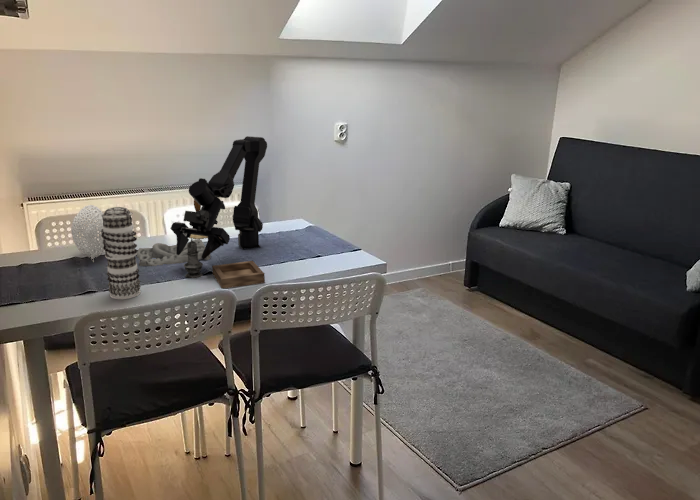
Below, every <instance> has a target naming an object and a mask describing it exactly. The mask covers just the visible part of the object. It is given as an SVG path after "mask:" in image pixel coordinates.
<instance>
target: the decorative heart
mask: <svg viewBox="0 0 700 500" xmlns="http://www.w3.org/2000/svg"><path fill="white" fill-rule="evenodd" d="M102 214H104V212H103V211H102V210H101V208H99V207H98V206H96V205H93V204H88V205H85V206H83V207H82V208H81V209H80V210H79V211H78V213H77V214H76V215H75V216H74V217H73V219H72V223H71V227H70V229H71V237H72V240H73V242H74V244H75V247H77V249H78V250H79V251H80V253H82V254H83V255H84V256H86V257H88V258H90V257H91V258H90V259H91V260H92V259H93V260H92V263H94V262H95V260H94V259H96V258H98V257H99V256H100V255H101V254H102V253H103V252H104V251H105V249H103V247H104V244H103V240H104V239H103V237H101V235H102V232H101V231H102V230H101V229H103V218H102V216H101V215H102ZM103 232H104V231H103ZM104 236H105V234H104ZM95 257H96V258H95Z"/></svg>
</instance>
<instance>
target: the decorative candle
mask: <svg viewBox="0 0 700 500" xmlns="http://www.w3.org/2000/svg"><path fill="white" fill-rule="evenodd" d="M132 215H133V212H132V211H130V210H129V209H128V208H127V207H125V206H112V207H110V208H106V209H105V211H104V212H103V214H102V215H101V216H102V218H103V229H101V230H102V231H101V232H102V235H101V238H102V237H103V239H104V240H103V244H104V247H103V249H104V257H105V258H106V259H107V260H106V261H107V271H106V272H107V273H106V276H107V279H106V280H107V281H108V284H107V287H108V292H109V297H110V298H112V299H113V300H114V299H115V300H128V299H133V298H135V297H137V296H139V295H141V292H142V291H141V287H142V286H141V285H140V283H141V280H140V279H139V278H140V274H139V272H140V269H139V268H138V262H137V256H136V255H137V250H138V249H137V246H138V245H137V244H136V243H135V242H136V241H137V240H138V238H137V237H136V235H137V232H136V231H134V223H133V217H132ZM103 231H104V232H103ZM101 232H100V233H101ZM104 234H105V236H104Z"/></svg>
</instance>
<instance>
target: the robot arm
mask: <svg viewBox="0 0 700 500" xmlns="http://www.w3.org/2000/svg"><path fill="white" fill-rule="evenodd" d="M267 148H268V143H267V141H266V139H265V138H264V137H261V136H245V137H244V138H243V139H235V140H233V142H232V147H231V149H230V151H229V153H228V155H227V157H226V158H225V161H224V162H223V164H222V167H221V169H220V170H219V171H218V172H216V173H215V174H214V175H212V177H211V178H210V180H209V181H207V180H206V178H201V177H199V179H198V181H194V182H193V183H192V184H191V185H190V186H189V188H188V193H189V195H190V196H191V197H192V199H193V201H194V200H195V201H196V202H197V203H198V204H199V205H201V209H200V211H196V210H195V211H191V210H185V211H184V217H183V222H179V221H174V222H173V223H171V224H172V225H170V230H171V231H172V232H173V233H174V235H175V236H176V244H177V251H176V254H177V255H180V253H181V252H182V251H183V249H184V247H185V246H186V244H187V243H188V242H190V239H189V237H190V236H191V234H193V235H200V236H207V237H208V238H207V242H206V244H205V249H204V251H203V254H202V259H201V260H205V258H206V257H207V256H208V255H210V254H212V253H213V252H215V251H216V250H217V249H219V248H220V247H224V245H228V244H229V242H230V238H231V237H230V235H229V233H228V232H227V231H226V230H225V228H223V227H219V226H218V227H217V226H215V225H218V220H217V218H218V217H219V214H220V212H221V210H225V209H226V205H225V204H224V200H221V198H222V199H227V198H230V197H231V195H232V193H233V191H234V187H235V182H234V179H235V176H236V174H237V173H238V170H239V168H240V167H241V164H242V163H243V161H245V162H244V169H243V179H242V186H241V195H240V200H239V201H240V202H239V203H238V204H237V205H234V207H233V212H232V213H233V214H232V223H233V225H234V230H235V231H238V234H237V240H238V246H239V248H241V249H242V250H251V249H252V250H253V249H258V248H259V249H260V248H261V245H260V240H259V239H260V236H259V235H260V234H259V233H260V232H262V231H263V227H264V226H263V225H264V224H263V222H262V220H261V219H260V218H259V210H258V209H257V207H256V204H255V203H256V193H257V185H258V178H259V170H260V163H261V162H262V161H263V159H264V158H265V156H266V151H267ZM185 222H188V225H189V226H190V227H189V226H188V225H187V224H186V223H185Z"/></svg>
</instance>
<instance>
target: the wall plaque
mask: <svg viewBox="0 0 700 500" xmlns="http://www.w3.org/2000/svg"><path fill="white" fill-rule="evenodd" d="M192 241H194V242H196V244H197V252H198V261H199V260H203V259H202V254H203V251H204V249H205V247H206V244H205V243H204V242H203V239H192ZM187 244H188V243H187ZM187 244H186V246H185V247H184V249H183V251H182V252H181V253H180V255H177V254H176V251H177V243H176V244H172V245H168V244H166V243H160V242H159V243H158V242H157V243H154V244H153V245H152V247H139V248H138V249H136V250H137V256H136V258H137V257H138V258H139V259H138V258H137V259H138V266H139V267H157V265H159V266H164V265H163V264H167V265H173V264H174V265H175V264H182V263H184V264H185V263H187V262H188V255H187V252H188V249H187ZM211 254H212V253H211ZM211 254H210V255H208V256H207V257H206V258H205V259H204V261H209V259H211ZM152 258H156V259H152ZM139 260H140V261H139Z"/></svg>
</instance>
